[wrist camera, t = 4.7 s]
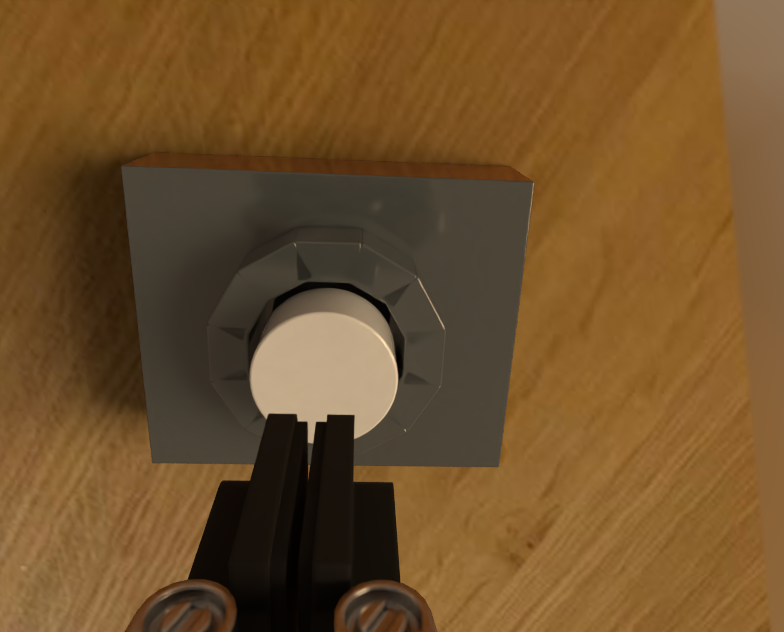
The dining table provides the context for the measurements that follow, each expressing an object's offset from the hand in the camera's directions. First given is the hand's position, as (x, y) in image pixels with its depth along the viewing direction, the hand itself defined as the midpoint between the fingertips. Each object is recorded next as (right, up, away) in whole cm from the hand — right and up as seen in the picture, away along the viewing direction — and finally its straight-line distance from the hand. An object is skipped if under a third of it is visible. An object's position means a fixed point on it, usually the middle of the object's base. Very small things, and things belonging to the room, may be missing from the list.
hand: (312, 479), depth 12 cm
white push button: (0, +2, +7) cm, 7 cm away
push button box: (-1, +4, +11) cm, 12 cm away
